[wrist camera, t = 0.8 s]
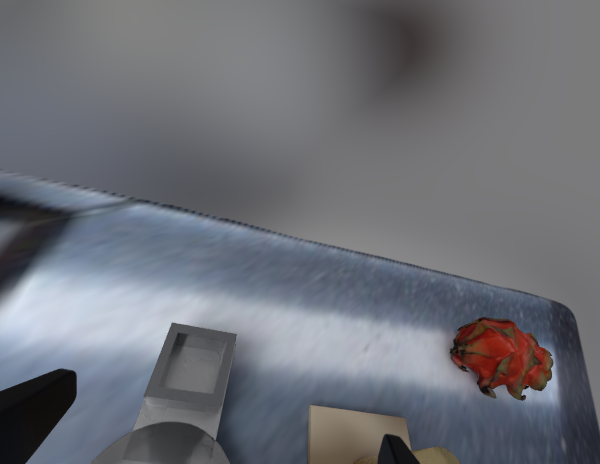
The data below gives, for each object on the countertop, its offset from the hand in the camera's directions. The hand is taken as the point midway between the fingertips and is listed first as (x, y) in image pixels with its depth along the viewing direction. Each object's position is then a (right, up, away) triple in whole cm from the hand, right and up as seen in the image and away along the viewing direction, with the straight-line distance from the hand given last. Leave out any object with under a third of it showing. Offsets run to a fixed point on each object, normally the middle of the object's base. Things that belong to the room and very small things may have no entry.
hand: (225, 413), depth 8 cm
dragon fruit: (+24, -12, +28) cm, 39 cm away
